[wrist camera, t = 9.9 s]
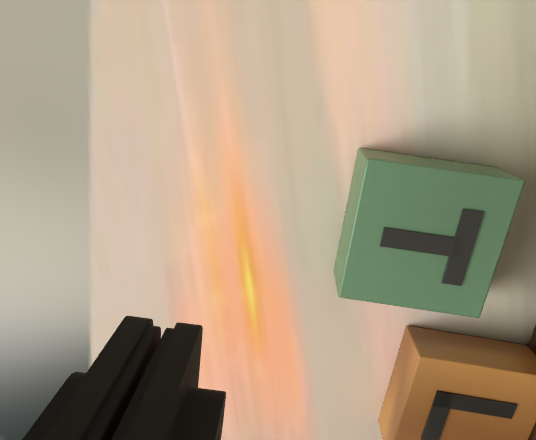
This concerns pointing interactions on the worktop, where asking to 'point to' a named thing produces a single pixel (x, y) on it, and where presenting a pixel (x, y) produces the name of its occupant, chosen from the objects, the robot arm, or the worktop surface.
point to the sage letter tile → (423, 231)
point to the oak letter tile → (459, 389)
